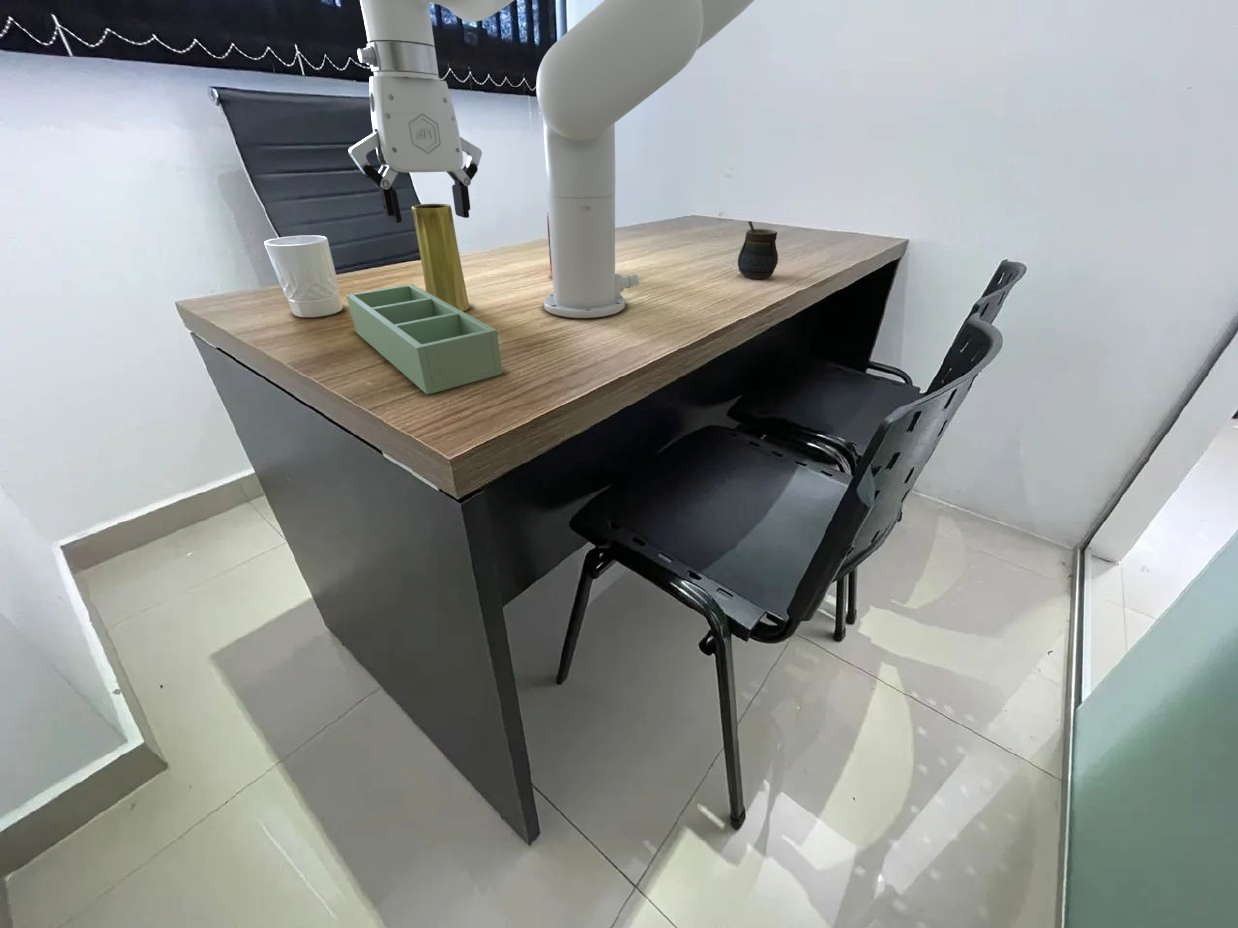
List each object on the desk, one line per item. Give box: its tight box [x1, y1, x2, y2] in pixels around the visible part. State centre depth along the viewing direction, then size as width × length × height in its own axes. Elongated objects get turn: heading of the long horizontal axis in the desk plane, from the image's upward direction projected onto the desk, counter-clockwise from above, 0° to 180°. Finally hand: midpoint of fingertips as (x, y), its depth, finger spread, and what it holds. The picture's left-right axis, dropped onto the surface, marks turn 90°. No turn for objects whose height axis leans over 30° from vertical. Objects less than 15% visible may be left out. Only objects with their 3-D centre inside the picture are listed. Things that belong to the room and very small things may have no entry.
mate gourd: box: [737, 220, 779, 280], centre depth 94 cm, size 7×8×10 cm
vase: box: [411, 203, 471, 313], centre depth 75 cm, size 6×6×14 cm
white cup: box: [263, 235, 344, 319], centre depth 75 cm, size 8×8×10 cm
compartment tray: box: [345, 283, 503, 396], centre depth 62 cm, size 9×25×5 cm, turn 39°
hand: (430, 219), depth 72 cm, fingers open, 9 cm apart
